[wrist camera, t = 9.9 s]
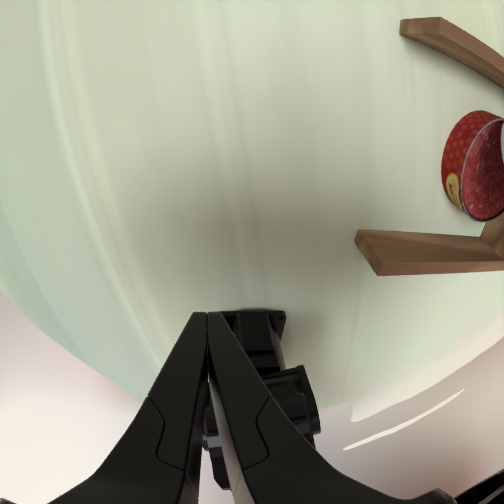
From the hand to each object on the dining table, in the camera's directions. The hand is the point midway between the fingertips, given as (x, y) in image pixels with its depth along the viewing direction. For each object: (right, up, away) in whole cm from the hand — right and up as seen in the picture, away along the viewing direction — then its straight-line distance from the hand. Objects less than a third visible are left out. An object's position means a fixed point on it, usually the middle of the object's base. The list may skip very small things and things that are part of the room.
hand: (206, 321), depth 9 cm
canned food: (+22, +11, +12) cm, 27 cm away
